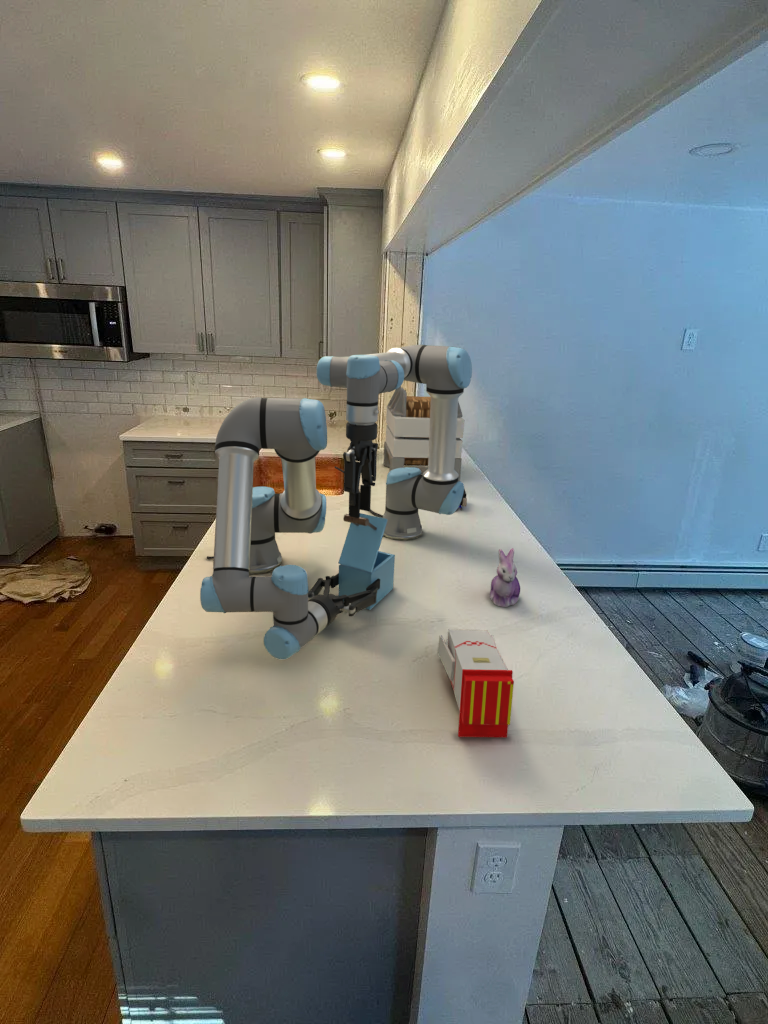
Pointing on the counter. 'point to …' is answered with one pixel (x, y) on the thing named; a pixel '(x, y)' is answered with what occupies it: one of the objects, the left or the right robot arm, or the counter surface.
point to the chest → (368, 577)
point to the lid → (362, 541)
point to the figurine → (505, 581)
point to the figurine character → (463, 500)
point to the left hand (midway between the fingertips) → (361, 578)
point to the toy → (478, 682)
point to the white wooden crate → (413, 432)
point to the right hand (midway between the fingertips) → (359, 513)
